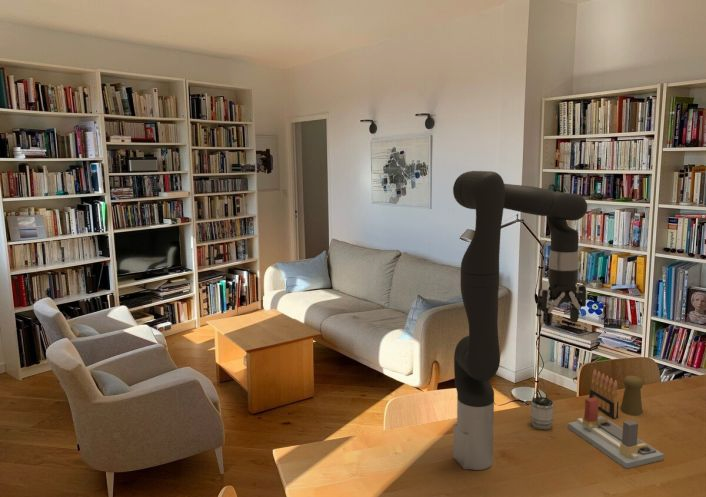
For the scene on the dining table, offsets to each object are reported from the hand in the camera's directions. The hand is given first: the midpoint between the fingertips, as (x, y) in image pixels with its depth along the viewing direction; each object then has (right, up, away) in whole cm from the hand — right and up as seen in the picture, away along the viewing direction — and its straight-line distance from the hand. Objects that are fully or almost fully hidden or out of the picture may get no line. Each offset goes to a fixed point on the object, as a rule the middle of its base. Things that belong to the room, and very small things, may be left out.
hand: (560, 323), depth 150 cm
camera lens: (-2, -31, +9) cm, 33 cm away
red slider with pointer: (+11, -29, +3) cm, 32 cm away
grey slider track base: (+14, -33, -2) cm, 35 cm away
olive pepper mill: (+28, -29, +16) cm, 43 cm away
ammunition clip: (+19, -30, +16) cm, 39 cm away
